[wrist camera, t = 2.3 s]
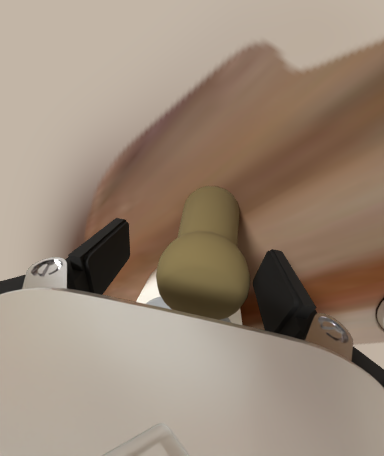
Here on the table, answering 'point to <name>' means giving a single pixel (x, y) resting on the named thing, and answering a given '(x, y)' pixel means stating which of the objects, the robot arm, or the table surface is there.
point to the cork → (205, 258)
